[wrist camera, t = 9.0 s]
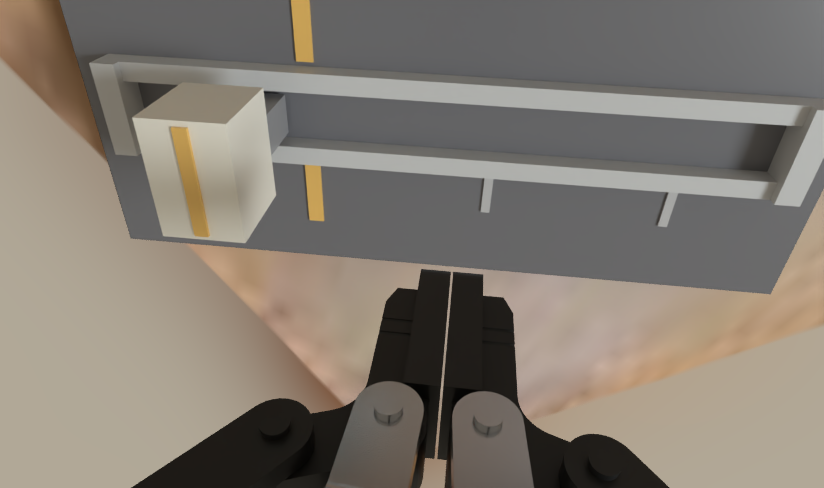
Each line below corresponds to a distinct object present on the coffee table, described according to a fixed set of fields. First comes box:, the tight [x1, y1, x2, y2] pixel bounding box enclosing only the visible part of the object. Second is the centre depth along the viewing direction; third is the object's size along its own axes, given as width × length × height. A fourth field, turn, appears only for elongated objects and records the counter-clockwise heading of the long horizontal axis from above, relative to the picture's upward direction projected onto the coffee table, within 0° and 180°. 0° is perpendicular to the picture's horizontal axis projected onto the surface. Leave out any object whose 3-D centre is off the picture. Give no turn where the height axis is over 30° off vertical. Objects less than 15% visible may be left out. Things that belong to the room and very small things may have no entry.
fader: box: [132, 82, 289, 243], centre depth 21 cm, size 4×3×7 cm
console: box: [59, 0, 824, 294], centre depth 24 cm, size 15×32×3 cm, turn 88°
